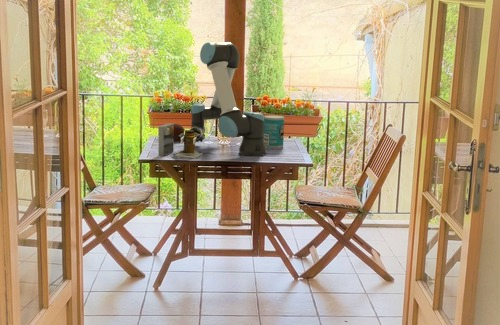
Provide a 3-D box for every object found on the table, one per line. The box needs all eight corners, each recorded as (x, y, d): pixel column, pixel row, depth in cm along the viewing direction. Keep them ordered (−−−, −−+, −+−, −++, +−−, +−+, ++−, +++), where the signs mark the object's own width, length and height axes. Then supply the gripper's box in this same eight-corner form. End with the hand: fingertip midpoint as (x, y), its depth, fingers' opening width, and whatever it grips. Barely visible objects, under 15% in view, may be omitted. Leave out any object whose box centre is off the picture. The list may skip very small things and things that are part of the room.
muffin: (162, 139, 435) (162, 123, 433) (178, 138, 442) (178, 122, 440) (172, 142, 426) (172, 126, 424) (188, 141, 432) (188, 124, 430)
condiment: (198, 152, 393) (198, 130, 390) (188, 154, 386) (188, 132, 384) (188, 150, 397) (188, 128, 395) (177, 152, 390) (178, 130, 388)
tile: (202, 154, 395) (202, 153, 395) (194, 157, 385) (194, 156, 385) (184, 152, 399) (184, 151, 399) (175, 155, 389) (175, 154, 389)
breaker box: (175, 152, 398) (175, 123, 395) (165, 156, 387) (165, 126, 384) (168, 151, 399) (168, 123, 396) (158, 155, 388) (158, 126, 385)
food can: (286, 148, 419) (287, 117, 415) (267, 149, 415) (268, 118, 411) (278, 144, 430) (279, 114, 426) (259, 145, 426) (260, 115, 422)
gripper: (211, 141, 408) (205, 149, 385) (178, 139, 409) (170, 147, 387) (211, 128, 406) (205, 135, 384) (178, 126, 408) (170, 133, 385)
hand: (187, 141), depth 385 cm, fingers closed on condiment, 6 cm apart
